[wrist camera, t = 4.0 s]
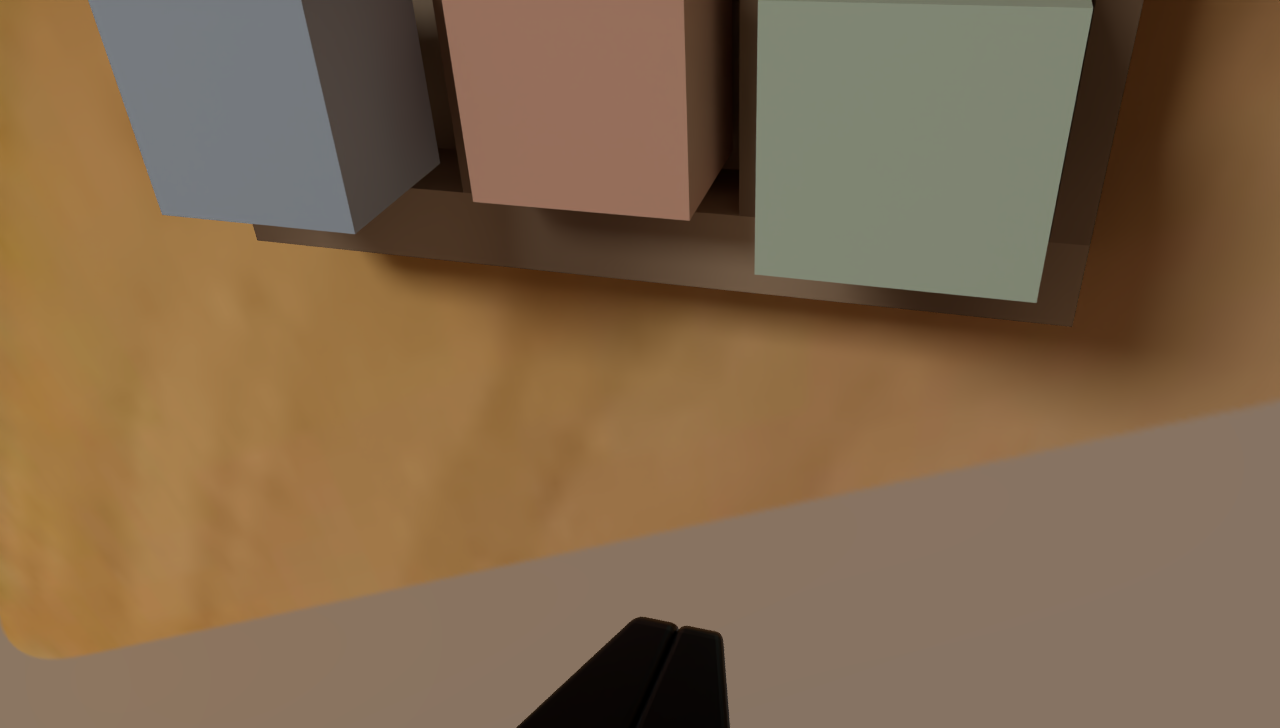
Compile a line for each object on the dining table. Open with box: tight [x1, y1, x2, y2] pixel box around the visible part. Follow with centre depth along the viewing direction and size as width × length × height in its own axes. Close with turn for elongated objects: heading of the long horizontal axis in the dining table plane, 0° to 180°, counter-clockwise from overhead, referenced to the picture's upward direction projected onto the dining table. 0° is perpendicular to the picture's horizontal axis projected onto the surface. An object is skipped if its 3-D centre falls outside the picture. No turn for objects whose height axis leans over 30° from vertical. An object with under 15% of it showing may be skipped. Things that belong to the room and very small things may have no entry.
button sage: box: [755, 0, 1093, 303], centre depth 14 cm, size 4×4×3 cm
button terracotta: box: [442, 0, 732, 221], centre depth 17 cm, size 4×4×3 cm
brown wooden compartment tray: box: [253, 0, 1144, 327], centre depth 18 cm, size 16×8×2 cm, turn 93°
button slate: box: [88, 0, 440, 234], centre depth 17 cm, size 4×4×3 cm
